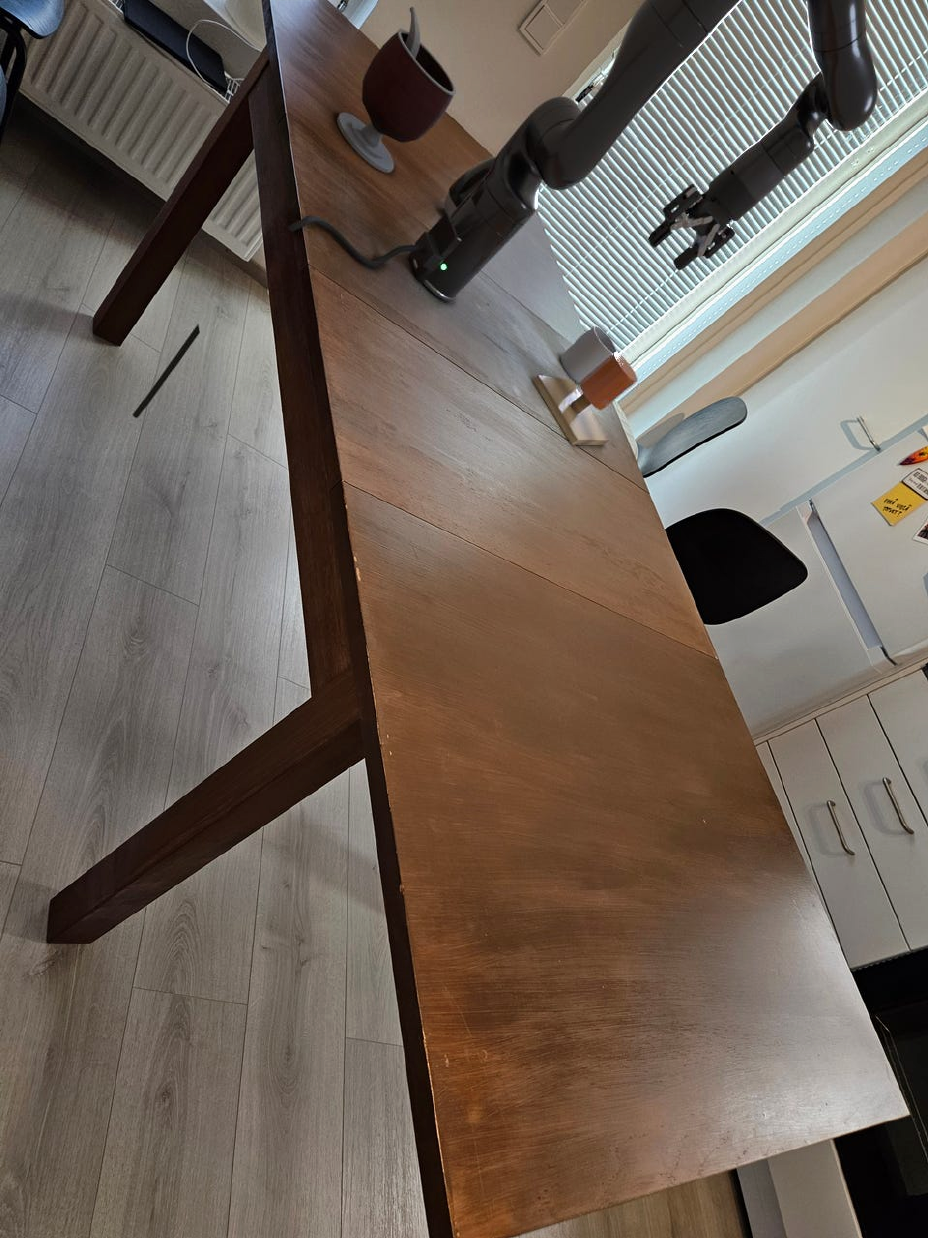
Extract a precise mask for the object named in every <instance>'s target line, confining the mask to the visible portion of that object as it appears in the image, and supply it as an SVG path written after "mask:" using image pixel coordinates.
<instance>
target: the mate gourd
mask: <svg viewBox="0 0 928 1238" xmlns="http://www.w3.org/2000/svg"><path fill="white" fill-rule="evenodd" d="M409 13H410V26H409V31H408V30H406V29H404V28H398V30H397V32H395V33H394V34H393V35H391V36H390V37H389V38H388V39H387V40H386V42H385V43H384V44H383V45H382V46H381V47H380V48H379V50H378V51H377V52H376V54H375V55H374V57H373V58H372V60H371V62H370V64H369V66H368V68H367V70H366V71H365V74H364V76H363V79H362V86H361V87H362V88H361V101H362V104H363V106H364V108H365V111H366V113H367V115H368V117H369V119H370V122H371V123H369V124H367V125H366V124H365V123H364V122H363V121H361V120H360V119H359V118H358V117H356V116H354V115H352V114H351V113H348V112H344V111H343V112H340V114H339V115H338V116H337V119H336V122H337V125H338V128H339V130H340V132H341V134H342V135H343V137H344V138H345V140H346V141H347V142H348V143H349V145H350V146H351V147H352V149H353V150H355V151H356V153H357V154H358V155H359V156H360V157H361V158H362V159H364V160H365V161H366V162H367V163H368V164H369V165H370V166H372V167H373V168H375V169H376V170H378V171H380V172H382V173H386V174H389V173H391V172H393V170H394V168H395V162H394V160H393V156H392V155H391V152H389V150H388V148H387V147H386V146H385V144H384V143H383V141H382V139H383V135H384V136H386V137H388V138H390V139H392V140H395V141H397V142H399V143H403V144H405V143H409V142H414V141H415V142H416V141H418V140H419V139H421V138H422V137H424V136H425V135H426V134H428V132H430V130H431V129H433V128H434V127H435V125H436V124H437V123H438V122H439V121H440V119H441V118H442V117H443V116H444V115H445V112H446V111H447V109H448V108H449V106H450V104H451V102H452V100H453V98H454V96H456V94H457V89H456V86H455V84H454V82H453V80H452V78H451V77H450V75H449V73H447V71H446V69H445V68H444V67H443V65H442V64H441V63H440V62H439V60H438V59H437V58H436V56H434V54H433V53H432V52H431V51H430V50H429V48H427V47H426V46H425V44H423V43H422V41H421V31H420V30H421V29H420V25H419V21H418V17H417V12H416V9H415V7H414V6H411V7H410V8H409Z"/></svg>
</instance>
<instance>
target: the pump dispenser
mask: <svg viewBox="0 0 928 1238" xmlns="http://www.w3.org/2000/svg"><path fill="white" fill-rule="evenodd" d="M495 158H496V156H492V157H490V158H488V159H486V160H483V161H481V162H479V163H478V164H476V165H474V166H473V167H471V168H470V169H468V170H467V171H465V172H464V173H463V174H462V175H461V176H460V177H458V178H457V179H456V180H455V181H453V182H452V184H451V185H450V186H449V188H448V192H447V194H446V196H445V199H444V205H443V207H444V214H445V213H446V212H449V213H450V214H452V213H453V212H454V211H455V210H456V209H457V207H458V206H459V205H460V204H461V203H462V202H463V201H464V200H465V199H466V197H467V196H468V195H469V194H470V193H471V192H472V191H473V190H474V189H475V187H476V186H477V185H478V184H479V183H480V182H481V181H482V180H483V179H484V177H485V176H486V175H487V174H488V173H489V171H490V170H491V168H492V166H493V163H494V161H495Z"/></svg>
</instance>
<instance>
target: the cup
mask: <svg viewBox="0 0 928 1238" xmlns="http://www.w3.org/2000/svg"><path fill="white" fill-rule="evenodd" d="M615 352H617V353H618V350H617V347H616V345H615V343H614V342H613V340H612V339H611V337H610V336H609V335H608V334H607V333H606V332H605V330H603V328H601V327H600V326H598V325H594V326H592V327H591V328H590V329H589V330H586V331H585V332H583V333H582V334H581V335H580V336H579V337H578V338H577V339H576V340H575V342H574V343H573V344H572V345H570V347H569V348H567V349H566V350H564V352H563V353H562V354H561V356H560V363H561V365H562V367H563V369H564V370H565V372H566V373H567V375H568V376H569V377H570V378H571V380H572V381H575V382H576V383H578V384H580V381H581V380H582V379H583V378H585V377H586V376H587V375H588V374H589V373H591V372H592V371H593V370H594V369H595V368H596V367H598V366H599V365H600V364H601V363H602V362H604V361H605V360H606V359H607V358H608V357H609V356H611V355H613V354H614V353H615Z"/></svg>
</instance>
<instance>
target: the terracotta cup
mask: <svg viewBox="0 0 928 1238" xmlns="http://www.w3.org/2000/svg"><path fill="white" fill-rule="evenodd" d="M637 382H638V377H637V374H636V372H635V370H634V368H633V367H632V365H631V364H630V363H629V362H628V360H627V359H625V357H624V356H623V355H622V354H620V353H619V352H618V351H617V352H615V353H614V354H613V355H611V356H609V357H608V358H607V359H606V360H605V361H604V362H602V363H601V364H600V365H599V366H598V367H596V368H595V369H594V370H593V371H592V372H591V373H589V374H588V375H587V376H586V377H585V378H583V379H582V380H581V381H580V383H579V387H580V390H581V392H582V394H584V395H585V396H586V398H587V399H588V401H589V402H590V403H591V405H592V406H593V407H594V408H595V409H597V410H599V411H603V410H604V409H605V408H607V407H608V406H609V405H610V404H612V403H613V402H614V401H616V400H617V399H618V398H619V397H621V395H623V394H624V393H625V392H627V391H628V390H629V389H630V388H631V387H632V386H634V385H635V384H636V383H637Z"/></svg>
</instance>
